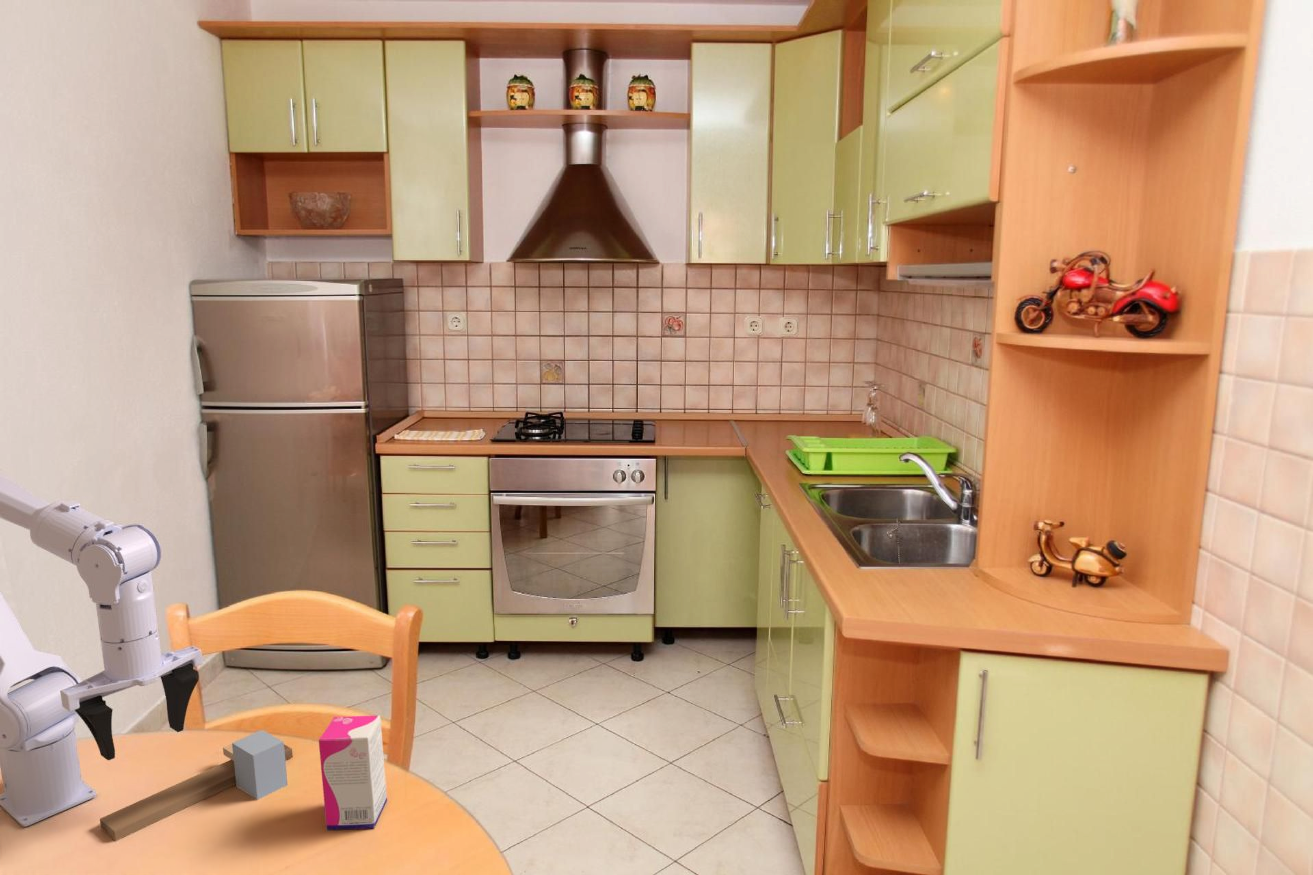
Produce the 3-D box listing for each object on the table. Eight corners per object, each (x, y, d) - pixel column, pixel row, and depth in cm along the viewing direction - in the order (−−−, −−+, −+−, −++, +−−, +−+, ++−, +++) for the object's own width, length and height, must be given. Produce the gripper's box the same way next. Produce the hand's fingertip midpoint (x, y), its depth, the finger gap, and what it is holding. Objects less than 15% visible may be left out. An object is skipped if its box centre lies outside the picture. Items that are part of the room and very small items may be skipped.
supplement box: (388, 799, 110) (382, 713, 108) (375, 829, 104) (368, 739, 102) (340, 800, 110) (333, 714, 107) (324, 830, 104) (316, 740, 102)
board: (100, 827, 105) (99, 817, 104) (276, 747, 122) (275, 738, 122) (116, 840, 102) (114, 830, 102) (292, 756, 119) (291, 748, 119)
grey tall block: (214, 771, 116) (209, 729, 115) (243, 758, 119) (239, 717, 118) (257, 799, 110) (253, 755, 109) (287, 784, 113) (283, 741, 112)
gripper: (73, 664, 94) (89, 781, 96) (210, 620, 105) (221, 726, 108) (46, 647, 98) (63, 760, 101) (181, 607, 109) (192, 709, 112)
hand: (143, 742), depth 104 cm, fingers open, 7 cm apart
